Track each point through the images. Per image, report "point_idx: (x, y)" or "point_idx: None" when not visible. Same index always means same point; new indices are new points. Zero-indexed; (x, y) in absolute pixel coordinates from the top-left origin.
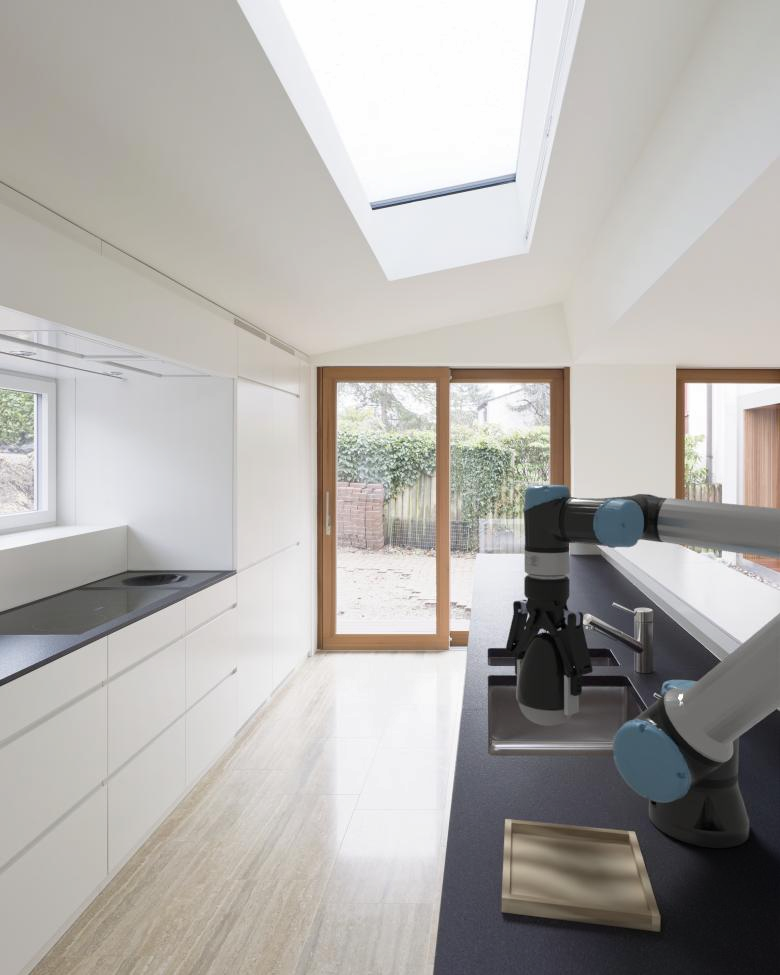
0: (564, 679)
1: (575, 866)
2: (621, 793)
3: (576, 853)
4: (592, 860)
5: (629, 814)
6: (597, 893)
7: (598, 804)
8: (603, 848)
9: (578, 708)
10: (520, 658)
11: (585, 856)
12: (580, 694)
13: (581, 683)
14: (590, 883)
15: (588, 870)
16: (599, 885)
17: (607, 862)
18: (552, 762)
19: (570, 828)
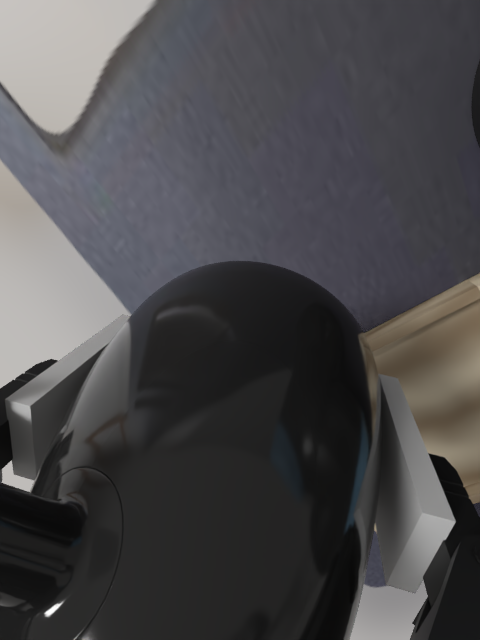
0: (383, 559)
1: (419, 410)
2: (381, 82)
3: (406, 381)
4: (437, 381)
5: (433, 168)
6: (474, 445)
7: (358, 180)
8: (441, 341)
9: (400, 387)
10: (10, 455)
11: (422, 379)
12: (444, 460)
13: (474, 511)
14: (457, 433)
15: (442, 408)
16: (470, 429)
17: (461, 372)
18: (172, 66)
19: (376, 349)
